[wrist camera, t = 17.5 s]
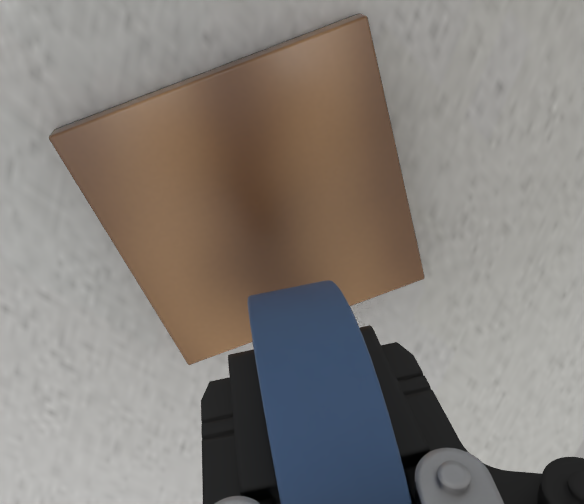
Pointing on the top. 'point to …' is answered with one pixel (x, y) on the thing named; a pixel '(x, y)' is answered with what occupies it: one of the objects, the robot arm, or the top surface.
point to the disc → (323, 400)
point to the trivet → (252, 184)
